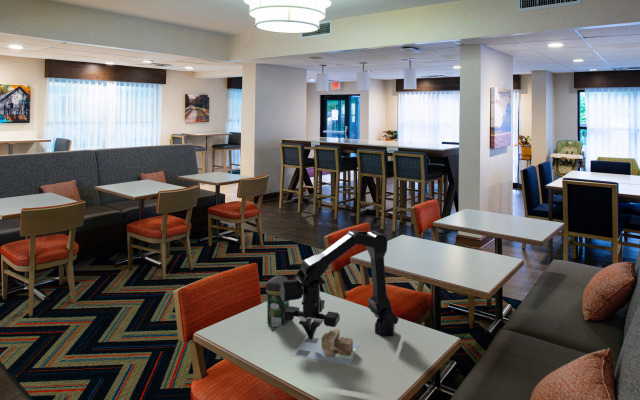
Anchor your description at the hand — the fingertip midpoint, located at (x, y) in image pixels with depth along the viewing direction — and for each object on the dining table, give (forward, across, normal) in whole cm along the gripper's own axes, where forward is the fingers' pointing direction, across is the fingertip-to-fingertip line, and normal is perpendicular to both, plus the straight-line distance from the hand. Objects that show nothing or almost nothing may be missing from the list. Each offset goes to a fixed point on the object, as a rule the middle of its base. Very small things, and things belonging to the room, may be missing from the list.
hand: (311, 339), depth 156 cm
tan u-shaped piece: (+3, -9, 0) cm, 10 cm away
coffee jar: (+5, +19, -16) cm, 26 cm away
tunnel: (+3, -7, 0) cm, 8 cm away
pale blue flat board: (+4, -6, 0) cm, 7 cm away
